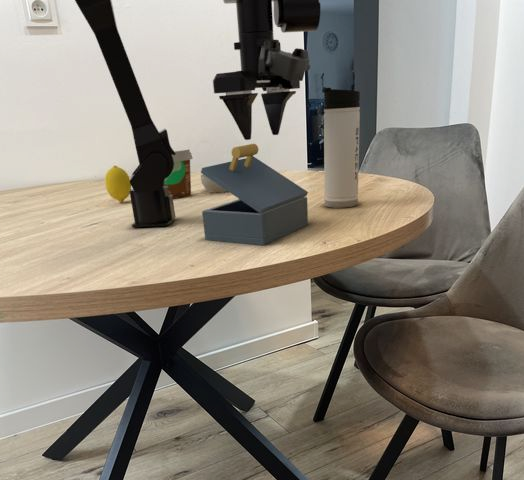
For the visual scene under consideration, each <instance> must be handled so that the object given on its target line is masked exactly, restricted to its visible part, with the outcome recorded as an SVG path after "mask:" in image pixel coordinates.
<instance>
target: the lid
mask: <svg viewBox="0 0 524 480" xmlns="http://www.w3.org/2000/svg"><path fill="white" fill-rule="evenodd" d="M258 153H259V146H258V145H257V144H256V143H251V144H244V145H239V146H234V147H233V148H232V149H231V156H232V159H231V161H227V162H222V163H217V164H213V165H209V166H205V167H204V166H203V167H202V168H201V170H200V173H201V175H205V176H206V177H208V178H209V179H211V180H212V181H214V182H215V183H217V184H218V185H220V186H221V187H222V188H224V189H225V190H227V191H226V192H228V193H229V194H231V195H232V196H234V197H236V198H237V199H240V200H241V201H243V202H244V203H246V204H247V205H249V206H250V207H252V208H253V209H255V210H256V211H258V212H259V213H264V212H266V211H269V210H271V209H274V208H277V207H279V206H282V205H285V204H287V203H290V202H292V201H295V200H298V199H300V198H303V197H307V196H308V193H309V191H307V190H306V189H304V188H303V187H301V186H300V185H298V184H297V183H295V182H294V181H292V180H290V179H289V178H287V176H285V175H283V174H282V173H280V172H278V171H277V170H276V169H274V168H272V167H271V166H269V165H268V164H266V163H265V162H263V161H261V160H260V159H259V158H257V157H255V155H256V156H257V154H258Z"/></svg>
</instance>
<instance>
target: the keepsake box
mask: <svg viewBox="0 0 524 480" xmlns="http://www.w3.org/2000/svg"><path fill="white" fill-rule="evenodd" d="M308 209H309V208H308V197H307V196H306V197H303V198H300V199H298V200H295V201H292V202H290V203H287V204H285V205H282V206H279V207H277V208H274V209H271V210H269V211H266V212H264V213H259V212H258V211H256V210H255V209H253V208H252V207H250V206H249V205H247V204H246V203H244V202H243V201H241V200H240V199H239V198H237V199H235V200H231V201H229V202H225V203H223V204H219V205H217V206H213V207H210V208H207V209H204V210H202V211H201V213H202V214H201V215H202V223H203V232H204V239H205V240H206V241H215V242H226V243H235V244H236V243H237V244H245V245H247V244H248V245H257V246H266V245H267V244H269V243H272V242H273V241H277V239H280V238H282V237H284V236H286V235H289V234H290V233H291V234H292V233H293V232H296V231H297V230H299V229H301V228H303V227H306V226H307V225H309V213H308V212H309V211H308Z"/></svg>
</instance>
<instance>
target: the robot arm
mask: <svg viewBox="0 0 524 480" xmlns="http://www.w3.org/2000/svg"><path fill="white" fill-rule="evenodd" d="M74 2H75V3H76V5H77V7H78V9H79V10H80V12H81V14H82V15H83V17H84V19H85V21H86V22H87V24H88V25H89V27H90V29H91V31H92V33H93V34H94V36H95V39H96V41H97V44H98V46H99V49H100V51H101V54H102V56H103V59H104V62H105V65H106V66H107V69H108V71H109V74H110V76H111V79H112V81H113V84H114V87H115V89H116V92H117V95H118V96H119V100H120V101H121V104H122V107H123V109H124V112H125V114H126V117H127V119H128V122H129V125H130V126H131V131H132V136H133V142H134V146H135V147H134V148H135V150H136V155H137V160H138V165H137V167H135V169H134V171H133V172H132V173H131V175H130V177H129V179H130V184H131V190H129V192H130V194H129V197H130V203H131V208H132V214H133V220H134V222H133V223H132V224H131V228H150V227H151V228H152V227H154V228H155V227H167V226H169V225H170V224H171V223H172V222H173V221H175V220H176V211H175V204H174V199H173V196H172V195H171V194H170V195H169V188H168V186H163V185H164V180H165V179H166V178H167V177H168V176H169V175H170V174H171V173H172V170H173V168H174V161H173V157H172V155H176V153H175V150H174V148H173V147H172V146H171V143H170V139H169V134H168V130H167V129H166V128H163V129H161V130H160V131H159V130H158V128H157V126H156V125H155V122H154V121H153V120H152V119H153V118H152V117H151V114H150V112H149V109H148V106H147V104H146V100H145V97H144V95H143V93H142V90H141V88H140V85H139V83H138V80H137V78H136V75H135V73H134V72H135V71H134V70H133V66H132V64H131V61H130V59H129V56H128V53H127V51H126V49H125V46H124V43H123V40H122V38H121V35H120V32H119V30H118V25H117V19H116V15H115V10H114V5H113V0H74ZM223 4H226V5H227V4H229V5H230V4H235V6H236V21H237V33H238V34H237V35H238V41H237V42H233V49H234V50H235V51H239V61H240V70H236V71H229V72H221V73H215V76H214V78H213V79H212V87H213V94H225V95H219V96H218V98H219V100H222V102H223V103H224V106H225V107H226V108H227V110H228V111H229V113H230V114H231V116H232V118H233V121H234V122H235V124H236V126H237V128H238V130H239V132H240V134H241V135H242V137H243V139H244V140H245V141H251V139H252V131H253V130H252V129H253V128H252V127H253V125H252V124H253V121H252V119H253V117H252V116H253V112H252V111H253V103H254V101H255V100H256V98H257V97H258V95H259V93H258V92H253V91H256V89H262V92H264V93H260V95H261V99H262V103H263V107H264V110H265V115H266V117H267V121H268V124H269V125H268V126H269V128H270V131H271V134H272V135H273V136H278V135H280V129H281V125H282V122H283V118H284V113H285V110H286V109H285V108H286V105H287V103H288V101H289V100H290V99H291V98H292V97H293V95H296V93H297V89H300V88H301V82H302V81H303V80H304V77H305V73H306V72H307V71H309V70H310V69H311V65H310V58H309V51H308V50H306V49H303V48H298V47H297V48H296V47H295V48H294V49H293V51H292V52H290V51H289V52H286V51H284V50H282V49H281V48H282V47H281V41H280V40H279V39H275V38H274V37H275V36H274V25H275V26H276V27H277V28H280V31H281V33H299V32H300V33H301V32H304V33H305V32H316V31H317V30H318V28H319V27H320V26H319V25H320V20H321V1H320V0H223ZM171 154H172V155H171Z"/></svg>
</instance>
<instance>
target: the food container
mask: <svg viewBox="0 0 524 480" xmlns="http://www.w3.org/2000/svg"><path fill="white" fill-rule="evenodd" d="M174 151H175V150H174ZM175 153H176V155H172V154H171V155H172V157H173V161H174V168H173V170H172V173H171V174H170V175H169V176H168V177H167V178H166V179H165V180H164V185H163V186H168V188H169V195H170V194H171V195H172V196H173V200H174V199H182V198H186V197H190V196H192V185H191V184H192V179H191V176H192V175H191V160H193V156H192V152H191V150H190V149H184V150H177V151H175Z"/></svg>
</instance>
